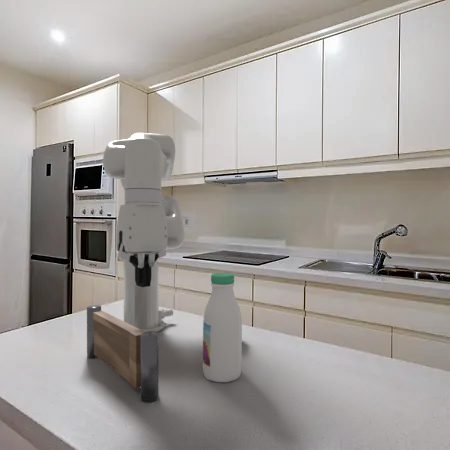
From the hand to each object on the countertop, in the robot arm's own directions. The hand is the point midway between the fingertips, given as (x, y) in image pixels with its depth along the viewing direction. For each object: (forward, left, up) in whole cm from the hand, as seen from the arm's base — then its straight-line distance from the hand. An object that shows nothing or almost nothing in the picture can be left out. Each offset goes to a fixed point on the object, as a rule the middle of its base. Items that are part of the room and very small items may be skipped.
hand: (143, 285), depth 68 cm
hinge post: (+6, -11, -17) cm, 21 cm away
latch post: (+6, +12, -17) cm, 21 cm away
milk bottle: (-9, +15, -17) cm, 24 cm away
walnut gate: (+6, 0, -16) cm, 17 cm away
